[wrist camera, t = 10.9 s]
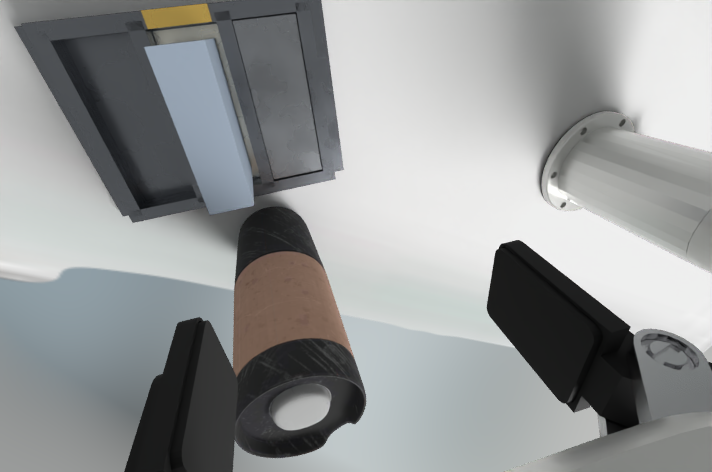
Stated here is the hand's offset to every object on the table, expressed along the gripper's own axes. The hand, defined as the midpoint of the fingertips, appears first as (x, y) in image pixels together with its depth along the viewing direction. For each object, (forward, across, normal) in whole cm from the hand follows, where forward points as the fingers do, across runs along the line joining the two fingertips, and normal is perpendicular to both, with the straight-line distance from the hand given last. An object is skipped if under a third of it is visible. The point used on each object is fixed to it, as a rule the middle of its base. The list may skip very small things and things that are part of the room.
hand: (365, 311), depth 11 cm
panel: (+22, +6, -3) cm, 23 cm away
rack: (+23, +6, -3) cm, 24 cm away
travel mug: (+23, +4, +10) cm, 26 cm away
